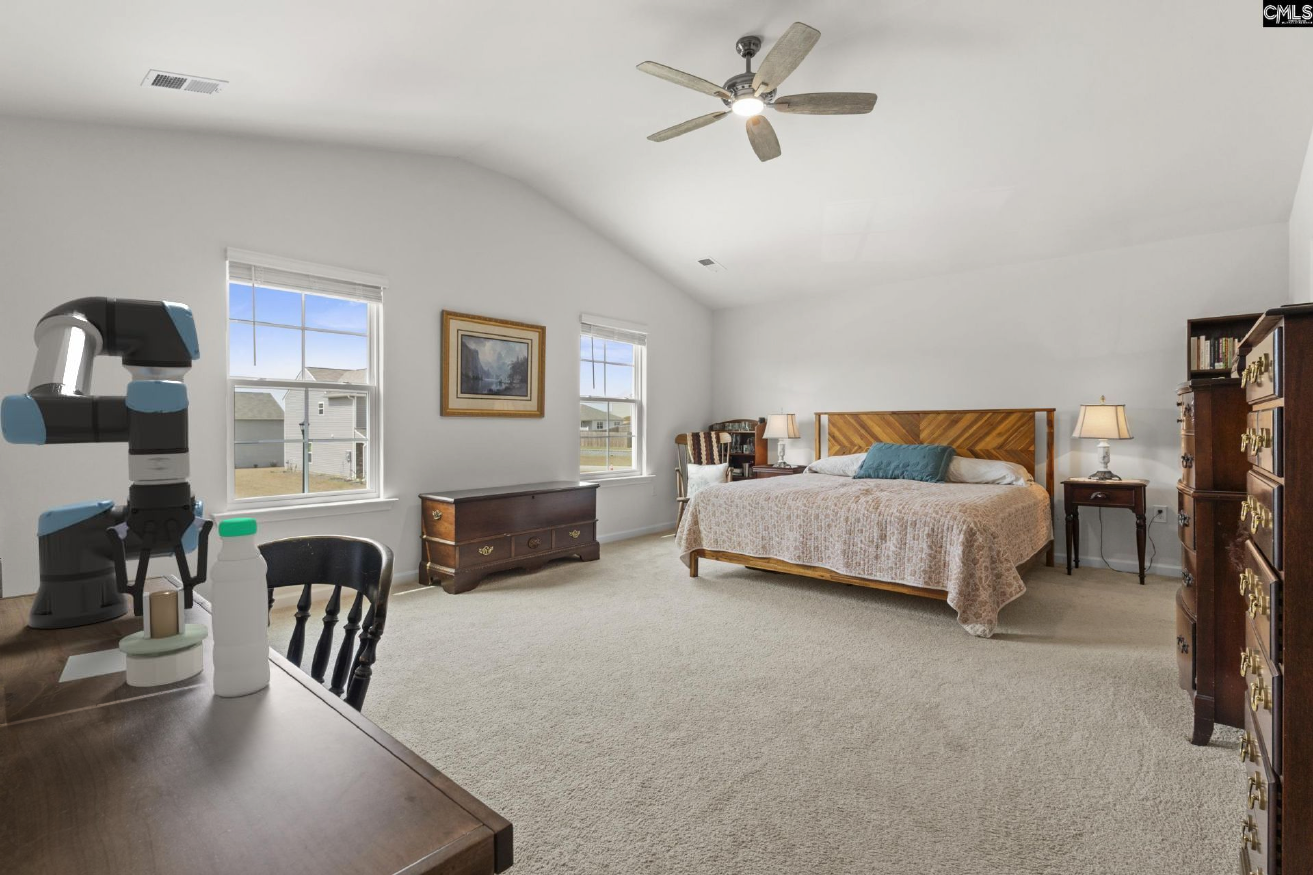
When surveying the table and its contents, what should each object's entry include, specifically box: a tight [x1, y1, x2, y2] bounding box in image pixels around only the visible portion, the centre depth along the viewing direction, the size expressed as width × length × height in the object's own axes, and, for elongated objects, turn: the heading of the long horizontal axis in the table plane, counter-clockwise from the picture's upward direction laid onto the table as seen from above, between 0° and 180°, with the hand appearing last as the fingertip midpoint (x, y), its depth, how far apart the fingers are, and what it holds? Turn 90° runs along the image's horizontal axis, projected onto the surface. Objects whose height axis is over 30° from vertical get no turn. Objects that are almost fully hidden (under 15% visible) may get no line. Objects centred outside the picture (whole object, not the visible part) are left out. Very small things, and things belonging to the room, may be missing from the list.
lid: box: [118, 589, 209, 654], centre depth 102 cm, size 11×11×8 cm
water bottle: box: [209, 517, 271, 698], centre depth 97 cm, size 7×7×25 cm
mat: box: [58, 647, 127, 684], centre depth 109 cm, size 14×14×1 cm
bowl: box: [125, 640, 204, 688], centre depth 102 cm, size 9×9×4 cm
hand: (164, 632), depth 102 cm, fingers closed on lid, 4 cm apart
